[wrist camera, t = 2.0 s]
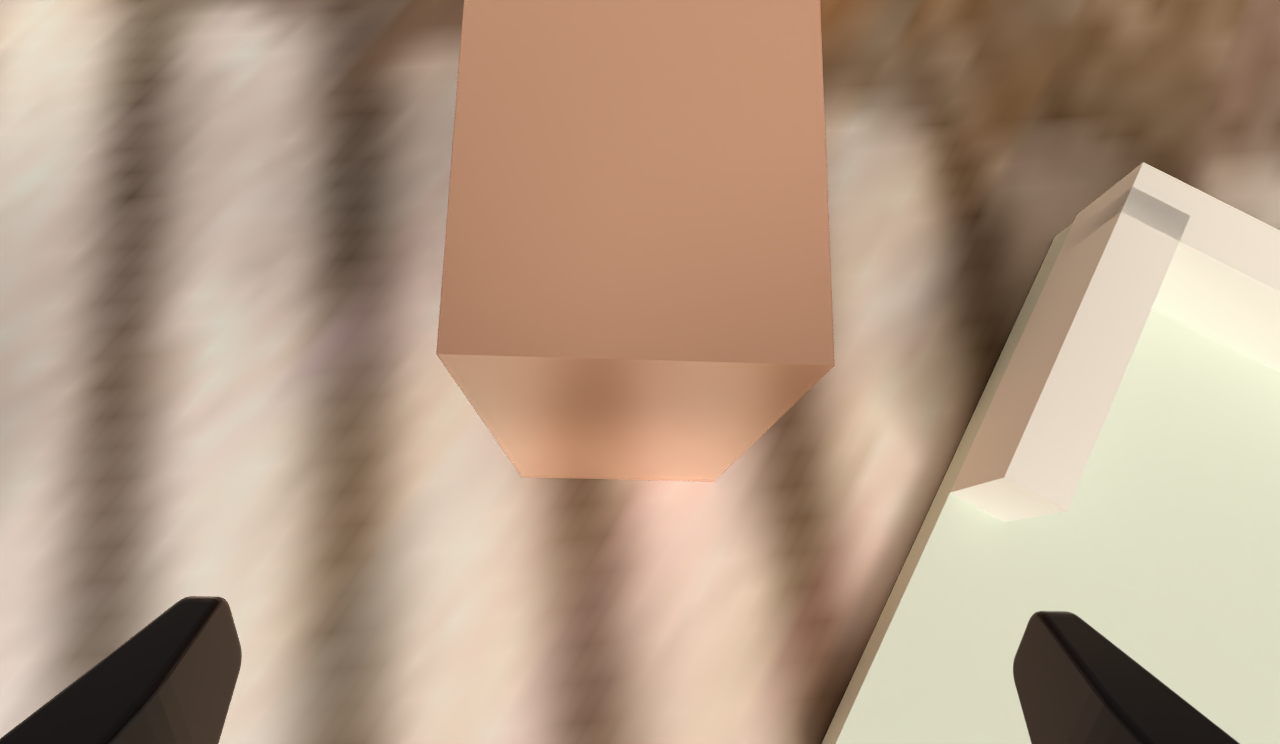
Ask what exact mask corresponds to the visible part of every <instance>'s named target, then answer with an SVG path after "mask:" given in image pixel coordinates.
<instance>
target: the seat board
mask: <svg viewBox="0 0 1280 744" xmlns="http://www.w3.org/2000/svg"><path fill="white" fill-rule="evenodd" d="M1038 611H1067V612H1071V613H1073V614H1075V615H1077V616H1078V617H1080V618H1081V619H1082V620H1084V621H1085V622H1086V623H1088V624H1089V625H1090V626H1091V627H1093V628H1094V629H1095V630H1096V631H1098V632H1099V633H1100V634H1102V635H1103V636H1104V637H1105V638H1107V639H1108V640H1109V641H1110V642H1112V643H1113V644H1114V645H1115V646H1117V647H1118V648H1119V649H1121V650H1122V651H1123V652H1124V653H1126V654H1127V655H1128V656H1129V657H1131V658H1132V659H1133V660H1135V661H1136V662H1137V663H1138V664H1140V665H1141V666H1142V667H1143V668H1145V669H1146V670H1147V671H1148V672H1150V673H1151V674H1152V675H1154V676H1155V677H1156V678H1157V679H1159V680H1160V681H1161V682H1162V683H1164V684H1165V685H1166V686H1168V687H1169V688H1170V689H1171V690H1173V691H1174V692H1175V693H1176V694H1178V695H1179V696H1180V697H1181V698H1183V699H1184V700H1185V701H1187V702H1188V703H1189V704H1190V705H1192V706H1193V707H1194V708H1195V709H1197V710H1198V711H1199V712H1201V713H1202V714H1203V715H1204V716H1206V717H1207V718H1208V719H1209V720H1211V721H1212V722H1213V723H1214V724H1216V725H1217V726H1218V727H1220V728H1221V729H1222V730H1223V731H1225V732H1226V733H1227V734H1228V735H1230V736H1231V737H1232V738H1234V739H1235V740H1236V741H1237V742H1239V743H1240V744H1280V230H1278V229H1276V228H1274V227H1272V226H1270V225H1268V224H1266V223H1264V222H1262V221H1260V220H1258V219H1256V218H1254V217H1252V216H1250V215H1248V214H1246V213H1244V212H1242V211H1240V210H1238V209H1236V208H1234V207H1232V206H1230V205H1228V204H1226V203H1224V202H1222V201H1220V200H1218V199H1216V198H1214V197H1212V196H1210V195H1208V194H1206V193H1204V192H1202V191H1200V190H1198V189H1196V188H1194V187H1192V186H1190V185H1188V184H1186V183H1184V182H1182V181H1180V180H1178V179H1176V178H1174V177H1172V176H1170V175H1168V174H1166V173H1164V172H1162V171H1160V170H1158V169H1156V168H1154V167H1152V166H1150V165H1148V164H1146V163H1144V162H1143V163H1142V164H1140V165H1139V166H1138V167H1136V168H1135V169H1134V170H1133V171H1131V172H1130V173H1129V174H1128V175H1126V176H1125V177H1124V178H1123V179H1121V180H1120V181H1119V182H1117V183H1116V184H1115V185H1114V186H1112V187H1111V188H1110V189H1109V190H1107V191H1106V192H1105V193H1104V194H1102V195H1101V196H1100V197H1098V198H1097V199H1096V200H1095V201H1093V202H1092V203H1091V204H1090V205H1088V206H1087V207H1086V208H1085V209H1083V210H1082V211H1081V212H1079V213H1078V214H1077V215H1076V218H1075V220H1074V222H1073V223H1071V224H1070V225H1069V226H1068V227H1066V228H1065V229H1064V230H1062V231H1061V232H1060V233H1059V234H1057V235H1056V236H1055V237H1054V239H1053V242H1052V244H1051V246H1050V248H1049V250H1048V253H1047V255H1046V257H1045V259H1044V261H1043V263H1042V266H1041V268H1040V270H1039V272H1038V274H1037V276H1036V279H1035V281H1034V283H1033V285H1032V287H1031V289H1030V292H1029V294H1028V296H1027V298H1026V300H1025V303H1024V305H1023V307H1022V309H1021V311H1020V313H1019V316H1018V318H1017V320H1016V322H1015V324H1014V326H1013V329H1012V331H1011V333H1010V335H1009V337H1008V339H1007V342H1006V344H1005V346H1004V348H1003V350H1002V353H1001V355H1000V357H999V359H998V361H997V363H996V366H995V368H994V370H993V372H992V374H991V376H990V379H989V381H988V383H987V385H986V387H985V389H984V392H983V394H982V396H981V398H980V400H979V403H978V405H977V407H976V409H975V411H974V413H973V416H972V418H971V420H970V422H969V424H968V426H967V429H966V431H965V433H964V435H963V437H962V439H961V442H960V444H959V446H958V448H957V450H956V452H955V455H954V457H953V459H952V461H951V463H950V466H949V468H948V470H947V472H946V474H945V476H944V479H943V481H942V483H941V485H940V487H939V489H938V492H937V494H936V496H935V498H934V500H933V502H932V505H931V507H930V509H929V511H928V513H927V516H926V518H925V520H924V522H923V524H922V526H921V529H920V531H919V533H918V535H917V537H916V539H915V542H914V544H913V546H912V548H911V550H910V552H909V555H908V557H907V559H906V561H905V563H904V566H903V568H902V570H901V572H900V574H899V576H898V579H897V581H896V583H895V585H894V587H893V589H892V592H891V594H890V596H889V598H888V600H887V602H886V605H885V607H884V609H883V611H882V613H881V616H880V618H879V620H878V622H877V624H876V626H875V629H874V631H873V633H872V635H871V637H870V639H869V642H868V644H867V646H866V648H865V650H864V652H863V655H862V657H861V659H860V661H859V663H858V666H857V668H856V670H855V672H854V674H853V676H852V679H851V681H850V683H849V685H848V687H847V689H846V692H845V694H844V696H843V698H842V700H841V702H840V705H839V707H838V709H837V711H836V713H835V716H834V718H833V720H832V722H831V724H830V726H829V729H828V731H827V733H826V735H825V737H824V739H823V742H822V744H1031V740H1030V737H1029V733H1028V729H1027V726H1026V722H1025V719H1024V715H1023V711H1022V708H1021V704H1020V700H1019V697H1018V693H1017V690H1016V686H1015V682H1014V677H1013V662H1014V658H1015V655H1016V652H1017V650H1018V647H1019V645H1020V642H1021V639H1022V637H1023V634H1024V632H1025V629H1026V627H1027V624H1028V622H1029V619H1030V617H1031V616H1032V615H1033V614H1034V613H1035V612H1038Z"/></svg>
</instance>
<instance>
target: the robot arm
mask: <svg viewBox="0 0 1280 744" xmlns="http://www.w3.org/2000/svg"><path fill="white" fill-rule="evenodd" d="M241 657H242V654H241V646H240V642H239V638H238V635H237V631H236V628H235V624H234V621H233V617H232V613H231V610H230V607H229V604H228V602H227V601H226V600H225V599H224V598H221V597H200V596H191V597H186V598H184V599H182V600H180V601H178V602H177V603H176V604H174V605H173V606H172V607H171V608H169V609H168V610H167V611H165V612H164V613H163V614H161V615H160V616H159V617H158V618H156V619H155V620H154V621H152V622H151V623H150V624H148V625H147V626H146V627H145V628H143V629H142V630H141V631H139V632H138V633H137V634H136V635H134V636H133V637H132V638H130V639H129V640H128V641H126V642H125V643H124V644H123V645H121V646H120V647H119V648H117V649H116V650H115V651H113V652H112V653H111V654H110V655H108V656H107V657H106V658H104V659H103V660H102V661H101V662H99V663H98V664H97V665H95V666H94V667H93V668H91V669H90V670H89V671H88V672H86V673H85V674H84V675H82V676H81V677H80V678H78V679H77V680H76V681H75V682H73V683H72V684H71V685H69V686H68V687H67V688H66V689H64V690H63V691H62V692H60V693H59V694H58V695H56V696H55V697H54V698H53V699H51V700H50V701H49V702H47V703H46V704H45V705H43V706H42V707H41V708H40V709H38V710H37V711H36V712H34V713H33V714H32V715H31V716H29V717H28V718H27V719H25V720H24V721H23V722H21V723H20V724H19V725H18V726H16V727H15V728H14V729H12V730H11V731H10V732H8V733H7V734H6V735H5V736H3V737H2V738H1V739H0V744H218V743H219V740H220V736H221V733H222V729H223V726H224V722H225V719H226V715H227V712H228V709H229V705H230V702H231V698H232V695H233V691H234V688H235V685H236V681H237V678H238V674H239V671H240V666H241ZM1013 677H1014V682H1015V686H1016V690H1017V693H1018V697H1019V700H1020V704H1021V708H1022V711H1023V715H1024V719H1025V722H1026V726H1027V729H1028V733H1029V737H1030V740H1031V744H1240V743H1239V742H1237V741H1236V740H1235V739H1234V738H1232V737H1231V736H1230V735H1228V734H1227V733H1226V732H1225V731H1223V730H1222V729H1221V728H1220V727H1218V726H1217V725H1216V724H1214V723H1213V722H1212V721H1211V720H1209V719H1208V718H1207V717H1206V716H1204V715H1203V714H1202V713H1201V712H1199V711H1198V710H1197V709H1195V708H1194V707H1193V706H1192V705H1190V704H1189V703H1188V702H1187V701H1185V700H1184V699H1183V698H1181V697H1180V696H1179V695H1178V694H1176V693H1175V692H1174V691H1173V690H1171V689H1170V688H1169V687H1168V686H1166V685H1165V684H1164V683H1162V682H1161V681H1160V680H1159V679H1157V678H1156V677H1155V676H1154V675H1152V674H1151V673H1150V672H1148V671H1147V670H1146V669H1145V668H1143V667H1142V666H1141V665H1140V664H1138V663H1137V662H1136V661H1135V660H1133V659H1132V658H1131V657H1129V656H1128V655H1127V654H1126V653H1124V652H1123V651H1122V650H1121V649H1119V648H1118V647H1117V646H1115V645H1114V644H1113V643H1112V642H1110V641H1109V640H1108V639H1107V638H1105V637H1104V636H1103V635H1102V634H1100V633H1099V632H1098V631H1096V630H1095V629H1094V628H1093V627H1091V626H1090V625H1089V624H1088V623H1086V622H1085V621H1084V620H1082V619H1081V618H1080V617H1078V616H1077V615H1075V614H1073V613H1071V612H1067V611H1038V612H1035V613H1034V614H1033V615H1032V616H1031V617H1030V619H1029V622H1028V624H1027V627H1026V629H1025V632H1024V634H1023V637H1022V639H1021V642H1020V645H1019V647H1018V650H1017V652H1016V655H1015V658H1014V662H1013Z"/></svg>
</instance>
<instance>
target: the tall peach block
mask: <svg viewBox="0 0 1280 744" xmlns="http://www.w3.org/2000/svg"><path fill="white" fill-rule="evenodd" d="M436 354H437V356H438V357H439V358H440V360H441V361H442V363H443V364H444V366H445V367H446V369H447V370H448V371H449V373H450V374H451V376H452V377H453V379H454V380H455V382H456V383H457V384H458V386H459V387H460V389H461V390H462V392H463V393H464V395H465V396H466V397H467V399H468V400H469V402H470V403H471V405H472V406H473V407H474V409H475V410H476V412H477V413H478V415H479V416H480V418H481V419H482V420H483V422H484V423H485V425H486V426H487V428H488V429H489V431H490V432H491V433H492V435H493V436H494V438H495V439H496V441H497V442H498V444H499V445H500V446H501V448H502V449H503V451H504V452H505V454H506V455H507V457H508V458H509V459H510V461H511V462H512V464H513V465H514V467H515V468H516V469H517V471H518V472H519V474H520V475H521V477H536V478H580V479H625V480H669V481H713V482H714V481H715V480H716V479H717V478H718V477H719V476H720V475H721V474H722V473H723V472H724V471H725V470H726V469H727V468H728V467H730V466H731V465H732V464H733V463H734V462H735V461H736V460H737V459H738V458H739V457H740V456H741V455H742V454H743V453H744V452H745V451H746V450H747V449H748V448H749V447H750V446H751V445H752V444H753V443H754V442H755V441H756V440H758V439H759V438H760V437H761V436H762V435H763V434H764V433H765V432H766V431H767V430H768V429H769V428H770V427H771V426H772V425H773V424H774V423H775V422H776V421H777V420H778V419H779V418H780V417H781V416H782V415H783V414H784V413H786V412H787V411H788V410H789V409H790V408H791V407H792V406H793V405H794V404H795V403H796V402H797V401H798V400H799V399H800V398H801V397H802V396H803V395H804V394H805V393H806V392H807V391H808V390H809V389H810V388H811V387H812V386H813V385H815V384H816V383H817V382H818V381H819V380H820V379H821V378H822V377H823V376H824V375H825V374H826V373H827V372H828V371H829V370H830V369H831V368H832V367H833V366H834V341H833V316H832V290H831V265H830V240H829V215H828V190H827V165H826V140H825V114H824V89H823V64H822V39H821V14H820V0H464V8H463V21H462V34H461V46H460V59H459V72H458V85H457V98H456V110H455V123H454V136H453V149H452V161H451V174H450V187H449V200H448V213H447V225H446V238H445V251H444V264H443V277H442V289H441V302H440V315H439V328H438V341H437V353H436Z"/></svg>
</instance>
